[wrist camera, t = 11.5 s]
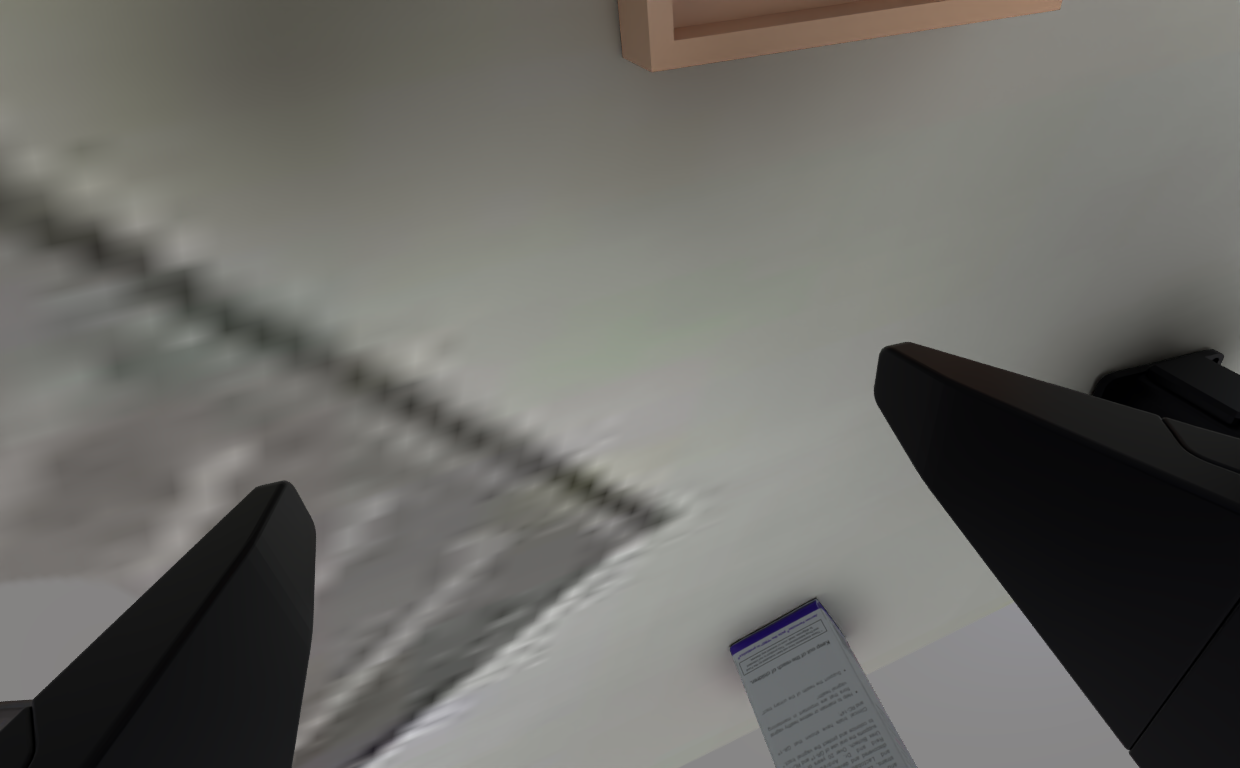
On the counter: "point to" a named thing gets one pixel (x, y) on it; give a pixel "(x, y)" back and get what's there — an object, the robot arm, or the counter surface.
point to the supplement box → (815, 696)
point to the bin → (785, 25)
